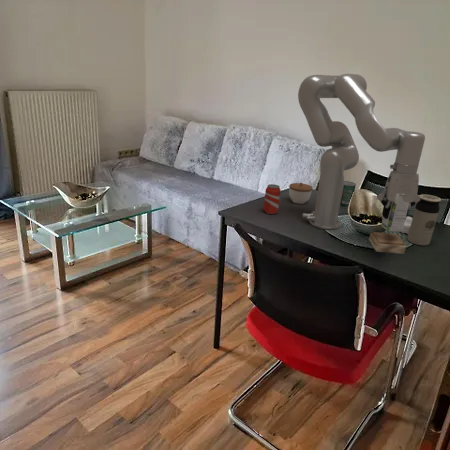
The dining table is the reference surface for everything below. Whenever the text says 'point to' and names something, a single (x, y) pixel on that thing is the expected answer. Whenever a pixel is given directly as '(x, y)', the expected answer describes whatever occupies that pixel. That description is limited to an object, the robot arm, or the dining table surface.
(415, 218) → the travel mug
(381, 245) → the base
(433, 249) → the dining table surface
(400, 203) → the syrup box
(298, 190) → the lidded jar
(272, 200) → the beverage can
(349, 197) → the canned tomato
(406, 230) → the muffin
